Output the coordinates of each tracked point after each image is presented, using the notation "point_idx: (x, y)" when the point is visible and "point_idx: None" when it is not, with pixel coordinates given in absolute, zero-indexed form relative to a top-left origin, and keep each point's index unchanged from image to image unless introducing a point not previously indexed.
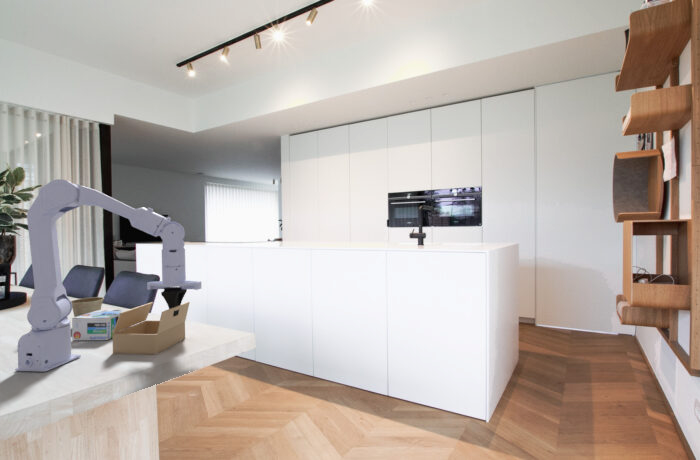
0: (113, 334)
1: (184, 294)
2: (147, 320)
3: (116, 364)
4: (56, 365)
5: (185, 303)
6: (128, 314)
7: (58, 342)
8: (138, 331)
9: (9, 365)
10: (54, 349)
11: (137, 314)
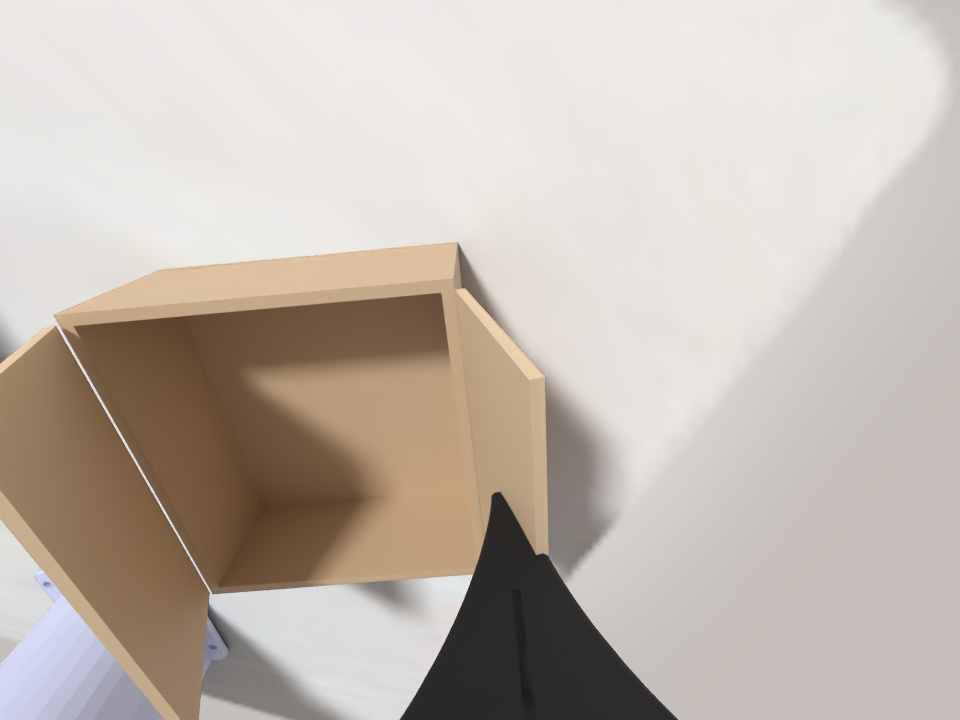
0: (220, 590)
1: (639, 687)
2: (64, 313)
3: (405, 581)
4: (213, 635)
5: (545, 468)
6: (162, 646)
7: (141, 718)
8: (164, 390)
9: (14, 634)
10: None
11: (110, 528)
